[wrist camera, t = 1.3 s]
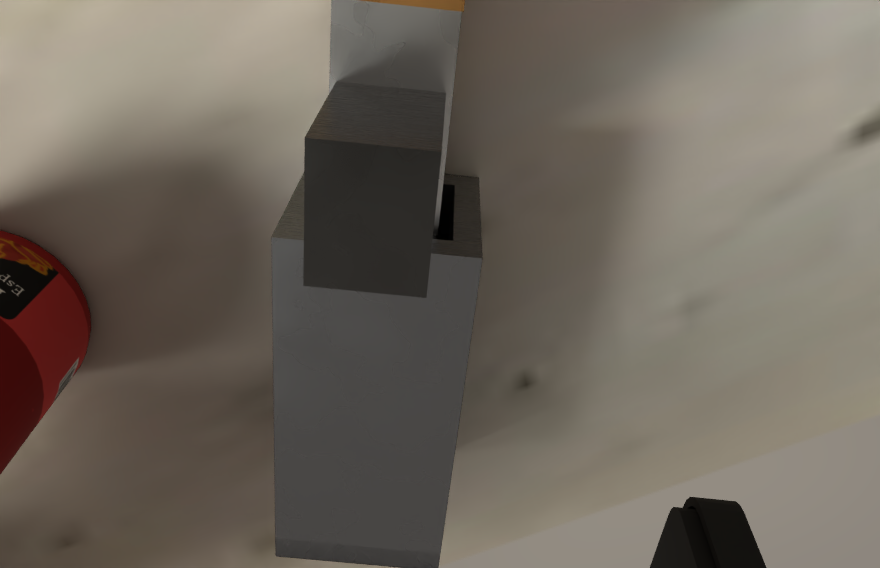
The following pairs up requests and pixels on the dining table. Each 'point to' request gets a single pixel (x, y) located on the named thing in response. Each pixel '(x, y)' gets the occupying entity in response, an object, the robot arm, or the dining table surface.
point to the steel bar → (380, 146)
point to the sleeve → (371, 397)
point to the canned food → (35, 337)
